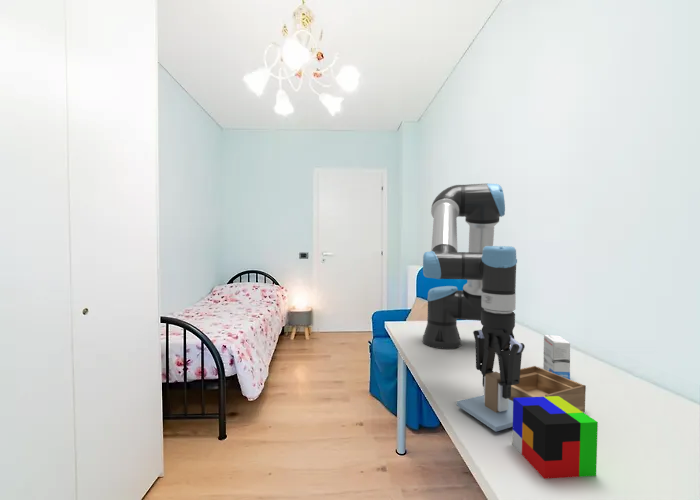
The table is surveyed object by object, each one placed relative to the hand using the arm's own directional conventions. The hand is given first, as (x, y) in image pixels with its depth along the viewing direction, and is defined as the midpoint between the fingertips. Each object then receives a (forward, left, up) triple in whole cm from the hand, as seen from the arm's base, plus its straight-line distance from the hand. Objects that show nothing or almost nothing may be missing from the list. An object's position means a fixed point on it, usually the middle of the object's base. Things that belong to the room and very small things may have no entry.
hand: (495, 405), depth 80 cm
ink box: (-11, +37, -3) cm, 39 cm away
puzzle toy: (+16, -3, -3) cm, 17 cm away
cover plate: (0, 0, -2) cm, 2 cm away
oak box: (0, +15, -2) cm, 16 cm away
